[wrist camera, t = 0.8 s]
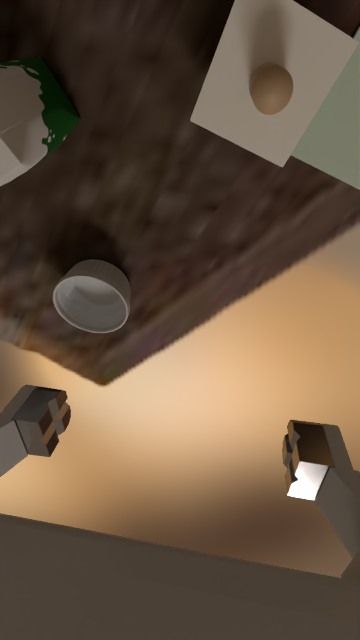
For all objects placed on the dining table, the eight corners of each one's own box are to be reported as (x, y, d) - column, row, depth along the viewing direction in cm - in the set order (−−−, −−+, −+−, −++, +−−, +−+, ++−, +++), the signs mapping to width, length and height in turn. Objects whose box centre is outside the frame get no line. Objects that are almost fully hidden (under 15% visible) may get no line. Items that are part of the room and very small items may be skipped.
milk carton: (40, 41, 36) (-82, 53, 21) (91, 122, 41) (21, 176, 26) (-9, 87, 39) (-142, 123, 25) (44, 156, 44) (-41, 220, 30)
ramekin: (147, 300, 61) (141, 325, 56) (91, 315, 65) (81, 340, 60) (113, 243, 53) (102, 266, 48) (52, 264, 57) (35, 287, 52)
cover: (245, -29, 27) (249, -37, 24) (356, 42, 30) (376, 44, 26) (190, 119, 35) (186, 130, 31) (281, 165, 38) (288, 181, 34)
